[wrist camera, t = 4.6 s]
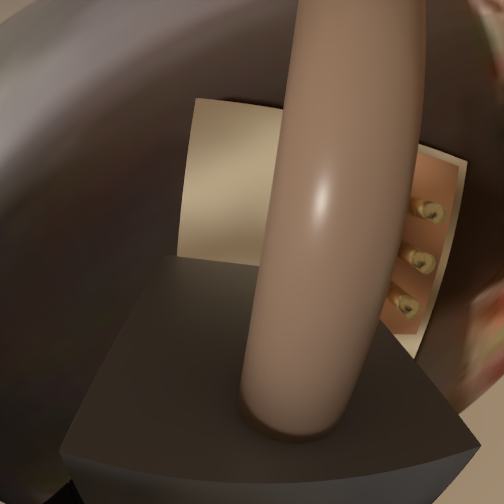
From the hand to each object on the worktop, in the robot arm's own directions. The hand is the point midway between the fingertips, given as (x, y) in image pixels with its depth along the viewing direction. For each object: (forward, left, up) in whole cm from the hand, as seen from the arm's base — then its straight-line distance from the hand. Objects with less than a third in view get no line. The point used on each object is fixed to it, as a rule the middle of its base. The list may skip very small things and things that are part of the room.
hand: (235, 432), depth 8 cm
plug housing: (+2, 0, -1) cm, 3 cm away
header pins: (+4, -9, -9) cm, 14 cm away
